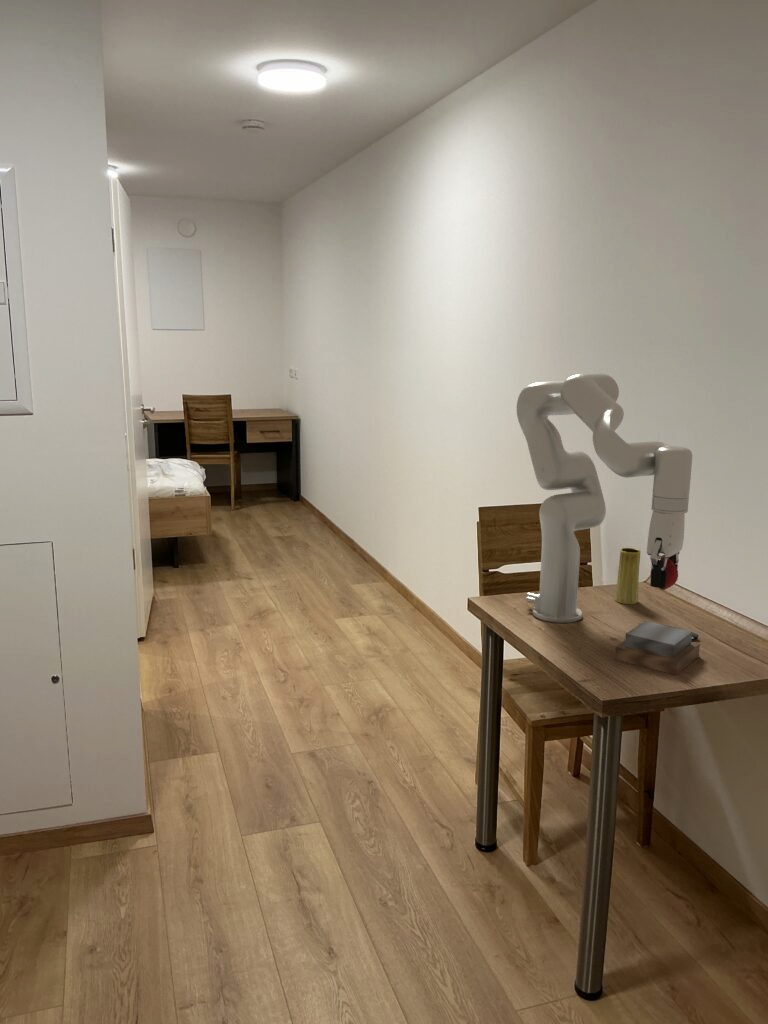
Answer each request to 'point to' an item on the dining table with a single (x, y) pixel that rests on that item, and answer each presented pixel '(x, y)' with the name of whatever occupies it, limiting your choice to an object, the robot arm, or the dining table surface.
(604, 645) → the dining table surface
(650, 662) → the wood and metal stack
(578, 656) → the dining table surface
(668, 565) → the onion
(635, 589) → the vase
